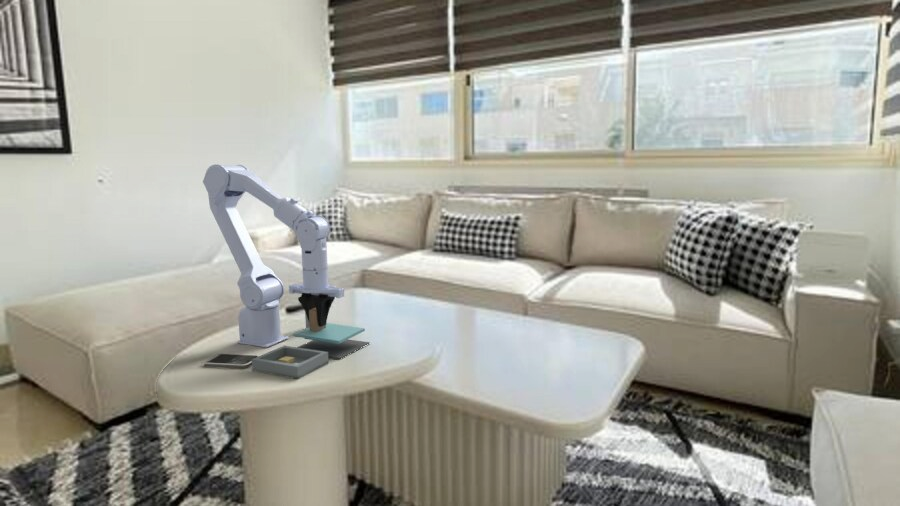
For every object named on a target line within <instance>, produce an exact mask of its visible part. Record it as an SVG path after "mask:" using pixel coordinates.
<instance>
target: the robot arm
mask: <svg viewBox="0 0 900 506" xmlns="http://www.w3.org/2000/svg"><path fill="white" fill-rule="evenodd" d="M205 171H206V172H205V175H204V177H203V180H202V183H203V185H204V187H205V190H206V192H207V194H208V196H207V197H208V202H209V209H210V211H211V213H212V215H213V218H214V219H215V221H216V223H217V226H218V228H219V230H220V232H221V234H222V236H223V238H224V241H225V243H226V244H227V246H228V249H229V251H230V253H231V255H232V257H233V259H234V261H235V264H236V265H237V268H238V270H239V271H240V277H239V278H238V280H237V286H238V289H239V295H240V301H241V302H242V304H243V305H244V306H242V307H241V308H240V311H239V312H238V318H237V319H238V331H239V340H237V342H236V343H237V344H241V345H248V346H255V347H262V348H269V347H271V346H273V345H276V344H278V342H279V343H281V342H283V340H284V341H286V340H289V336H287V335H282V334H281V332H282V331H281V319H280V317H281V315H280V304H281V300H280V299H281V298H283V296H284V293H285V286H284V284H283V282H282V280H281V279H280V278H279V277H278V276H277V275H276V274H275V272H274V270H273V269H272V268H270V267H268V266H266V265H265V264H264V263H263V260H262V258H261V257H260V254H259V252H258V249H256V246H255V244H254V242H253V240H252V238H251V236H250V234H249V231H248V229H247V227H246V226H245V224H244V221H243V218H242V217H241V215H240V213H239V211H238V210H239V209H238V208H237V205H238V204H239V201H240V200H241V199H242V197H243V196H244V194H245V193H248V194H250V195H251V196H252V197H255V199H257V200H258V201H260V202H261V203H263V204H265V205H266V206H268V207H269V208H270V209H272V210H273V216H274V217H275V218H276V219H278V221H280V222H282V223H283V224H284V225H285V226H286V227H288V228H289V229H290V230H291V231H293V232H294V233H295V236H296V238H297V240H298V241H299V243H300V244H299V245H300V249H301V266H302V268H301V269H302V282H303V283H302V284H297V283H294V284H290V285H288V292H289V294H290V295H291V294H292V295H294V294H301V295H300V296H299V297H298V298H297V300H298V302H299V303H300V305H301V307H303V308H302V309H303V310H304V313H305V312H306V315H307V318H308V321H309V310H311V309H313V308H316V311H317V320H318V326H319V327H322V326H324V325H326V323H328V322H327V320H328V317H329V316H328V315H329V313H330V309H331V307H332V304H333V302H334V300H335V298H336V299H341V298H344V297H345V288H343V287H336V286H333V285H329V272H328V271H329V270H328V248H327V238H328V237H329V236H330V233H331V225H330V223H329V222H328V220H327V219H326V218H325V217H324V216H322V215H314V214H315V213H314V212H313V211H312V210H308V209H306V208H305V207H304V206H302V205H301V204H300V203H299V200H298V199H297V198H295V197H291V196H290V197H289V196H287V197H282V196H281V195H279V194H278V193H277V192H276V191H274V190H273V188H271V187H270V186H269V185H267V184H266V183H265V182H264V181H263V180H261V179H260V177H258V176H257V175H256V174H255V172H254V171H252V170H251V169H248V167H247V166H245V165H243V164H237V165H236V164H233V165H231V164H230V165H229V164H225V165H224V164H212V165H210V166H209V167H208V168H207V169H206V170H205ZM285 339H286V340H285Z"/></svg>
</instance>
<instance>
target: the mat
mask: <svg viewBox="0 0 900 506" xmlns="http://www.w3.org/2000/svg"><path fill="white" fill-rule="evenodd" d="M306 343H307V344H306ZM369 343H370V344H371V342H369V341H362V340H353V339H347V340H345V341H343V342H341V343H339V344H333V343H327V342H321V341H315V340H310V341H308V342H305V343H304V344H301V345H299V346H297V348H304V349H311V350H318V351H324V352H328V357H329V358H328V359H334V358H336V360H342V359H344V358H346V357H348V356H349V355H348V354H350V353H352V352H354V351H355V350H357V349H359V348H361V347H363V346H365V345H367V344H369ZM370 344H369V345H370ZM367 346H368V345H367ZM365 347H366V346H365ZM363 348H364V347H363ZM361 349H362V348H361ZM359 350H360V349H359ZM354 353H355V352H354ZM352 354H353V353H352ZM347 355H348V356H347ZM350 355H351V354H350ZM345 356H346V357H345ZM343 357H344V358H343ZM341 358H342V359H341Z"/></svg>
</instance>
